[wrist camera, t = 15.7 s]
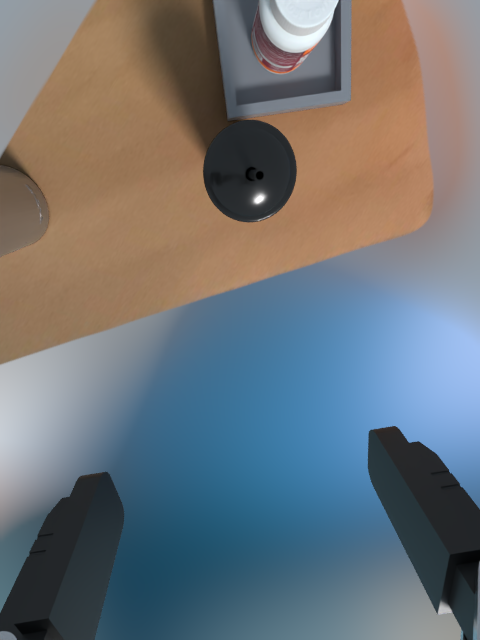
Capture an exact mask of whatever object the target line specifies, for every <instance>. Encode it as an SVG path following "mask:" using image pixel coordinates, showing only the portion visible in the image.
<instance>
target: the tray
mask: <svg viewBox="0 0 480 640" xmlns="http://www.w3.org/2000/svg"><path fill="white" fill-rule="evenodd" d="M258 2H259V0H212V3H213V10H214V18H215V26H216V34H217V42H218V49H219V57H220V65H221V73H222V81H223V88H224V96H225V104H226V112H227V120H228V121H233V120H239V119H246V118H253V117H260V116H267V115H274V114H281V113H287V112H294V111H301V110H308V109H315V108H322V107H328V106H335V105H342V104H344V103H346V102H348V101H350V100H351V0H339V1H338V3H337V5H336V7H335V10H334V14H333V18H332V21H331V23H330V26H329V28H328V30H327V31H326V33H325V35H324V36H323V37H322V39H321V40H320V41H319V43H318V44H317V45H316V46H315V48H314V49H313V50H312V52H311V53H310V54H309V55H308V56H307V58H306V59H305V60H304V61H303V62H302V63H301V65H300V66H299V67H297V68H296V69H295V70H293V71H291V72H289V73H286V74H275V73H272V72H269V71H268V70H266V69H265V68H264V67H263V66H262V65H261V64H260V63H259V62H258V60H257V58H256V56H255V54H254V51H253V48H252V41H251V33H252V27H253V22H254V18H255V14H256V10H257V7H258Z"/></svg>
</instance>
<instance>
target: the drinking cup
mask: <svg viewBox="0 0 480 640" xmlns="http://www.w3.org/2000/svg"><path fill="white" fill-rule="evenodd" d="M296 173H297V168H296V160H295V155H294V152H293V150H292V147H291V145H290V143H289V142H288V140H287V139H286V137H285V136H284V135H283V134H282V133H281V132H280V131H279V130H278V129H276V128H275V127H273V126H272V125H270V124H268V123H265V122H262V121H258V120H243V121H239V122H236V123H233V124H231V125H229V126H228V127H226V128H225V129H223V130H222V131H221V132H220V133H219V134H218V135H217V136H216V137H215V138H214V140H213V141H212V143H211V144H210V146H209V148H208V150H207V153H206V156H205V160H204V167H203V177H204V183H205V187H206V190H207V193H208V195H209V197H210V199H211V201H212V202H213V204H214V205H215V206H216V207H217V208H218V209H219V210H220V211H221V212H222V213H223V214H225V215H226V216H228V217H230V218H232V219H234V220H237V221H242V222H257V221H261V220H264V219H267V218H269V217H271V216H273V215H274V214H275V213H277V212H278V211H279V210H280V209H281V208H282V207H283V206H284V205H285V204H286V202H287V201H288V199H289V198H290V196H291V194H292V191H293V189H294V186H295V181H296Z"/></svg>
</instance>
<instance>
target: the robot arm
mask: <svg viewBox="0 0 480 640" xmlns="http://www.w3.org/2000/svg"><path fill="white" fill-rule="evenodd" d="M48 222H49V210H48V206H47V202H46V200H45V198H44V196H43V194H42V192H41V191H40V189H39V188H38V186H37V185H36V184H35V183H34V182H33V181H32V180H31V179H30V178H29V177H27V176H26V175H25V174H23V173H22V172H20V171H18V170H16V169H14V168H11V167H8V166H4V165H0V257H1V256H4V255H6V254H9V253H11V252H14V251H16V250H19V249H21V248H23V247H26V246H28V245H31V244H33V243H35V242H36V241H38V240H39V239H40V238H41V237H42V236H43V235H44V233H45V231H46V229H47V227H48ZM368 445H369V446H368V470H369V475H370V479H371V482H372V484H373V487H374V489H375V491H376V493H377V495H378V497H379V499H380V501H381V503H382V505H383V507H384V509H385V510H386V513H387V515H388V517H389V519H390V521H391V523H392V525H393V527H394V529H395V531H396V533H397V535H398V537H399V539H400V540H401V543H402V545H403V547H404V548H405V550H406V553H407V555H408V557H409V558H410V560H411V562H412V564H413V566H414V568H415V570H416V572H417V574H418V576H419V578H420V580H421V582H422V584H423V586H424V588H425V590H426V592H427V594H428V596H429V598H430V600H431V602H432V604H433V606H434V608H435V610H436V612H437V614H438V615H439V614H445V613H450V612H453V614H454V616H455V618H456V619H457V621H458V623H459V625H460V627H461V639H460V640H480V509H479V508H478V507H477V505H476V504H475V503H474V501H473V500H472V499H471V498H470V496H469V495H468V494H467V493H466V491H465V490H464V489H463V488H462V487H460V484H459V482H458V481H457V480H456V478H455V477H454V476H453V475H452V474H450V472H449V469H448V468H447V467H446V466H445V464H444V463H443V462H442V461H441V459H440V458H439V457H438V455H437V454H436V453H434V452H433V451H432V450H430V449H429V448H427V447H426V446H424V445H423V444H422V443H420V442H412V443H409V442H408V441H407V439H406V438H405V437H404V435H403V434H402V432H401V431H400V430H399V429H398V428H397V427H396V426H392V427H386V428H380V429H374V430H370V431H369V443H368ZM123 524H124V509H123V505H122V502H121V500H120V497H119V495H118V493H117V490H116V488H115V486H114V483H113V481H112V479H111V477H110V474H109V473H108V472H102V473H96V474H90V475H84V476H80V477H79V478H78V480H77V481H76V484H75V486H74V488H73V490H72V493H71V495H70V497H66V498H62V499H61V500H60V501H59V502H58V504H57V505H56V506H55V507H54V508H53V509H52V511H51V512H50V513H49V514H48V516H47V517H46V519H45V521H44V523H43V525H42V527H41V529H40V531H39V534H38V538H37V540H35V542H34V544H33V546H32V548H31V550H30V555H29V557H27V559H26V561H25V563H24V565H23V567H22V569H21V571H20V573H19V575H18V577H17V579H16V581H15V584H14V586H13V588H12V590H11V592H10V594H9V596H8V598H7V600H6V602H5V604H4V606H3V609H2V611H1V613H0V640H94V639H95V635H96V631H97V627H98V623H99V619H100V616H101V612H102V607H103V603H104V600H105V596H106V592H107V588H108V584H109V580H110V576H111V572H112V568H113V564H114V560H115V556H116V552H117V549H118V545H119V540H120V537H121V532H122V529H123Z"/></svg>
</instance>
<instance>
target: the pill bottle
mask: <svg viewBox="0 0 480 640" xmlns="http://www.w3.org/2000/svg"><path fill="white" fill-rule="evenodd" d="M338 1H339V0H259V2H258V7H257V10H256V14H255V18H254V22H253V27H252V33H251V41H252V48H253V51H254V54H255V56H256V58H257V60H258V62H259V63H260V64H261V65H262V66H263V67H264V68H265V69H266V70H268V71H269V72H272V73H275V74H286V73H289V72H291V71H293V70H295V69H296V68H297V67H299V66H300V65H301V63H302V62H303V61H304V60H305V59H306V58H307V56H308V55H309V54H310V53H311V52H312V50H313V49H314V48H315V46H316V45H317V44H318V43H319V41H320V40H321V39H322V37H323V36H324V35H325V33H326V31H327V30H328V28H329V26H330V23H331V21H332V18H333V14H334V10H335V7H336V5H337V3H338Z"/></svg>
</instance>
